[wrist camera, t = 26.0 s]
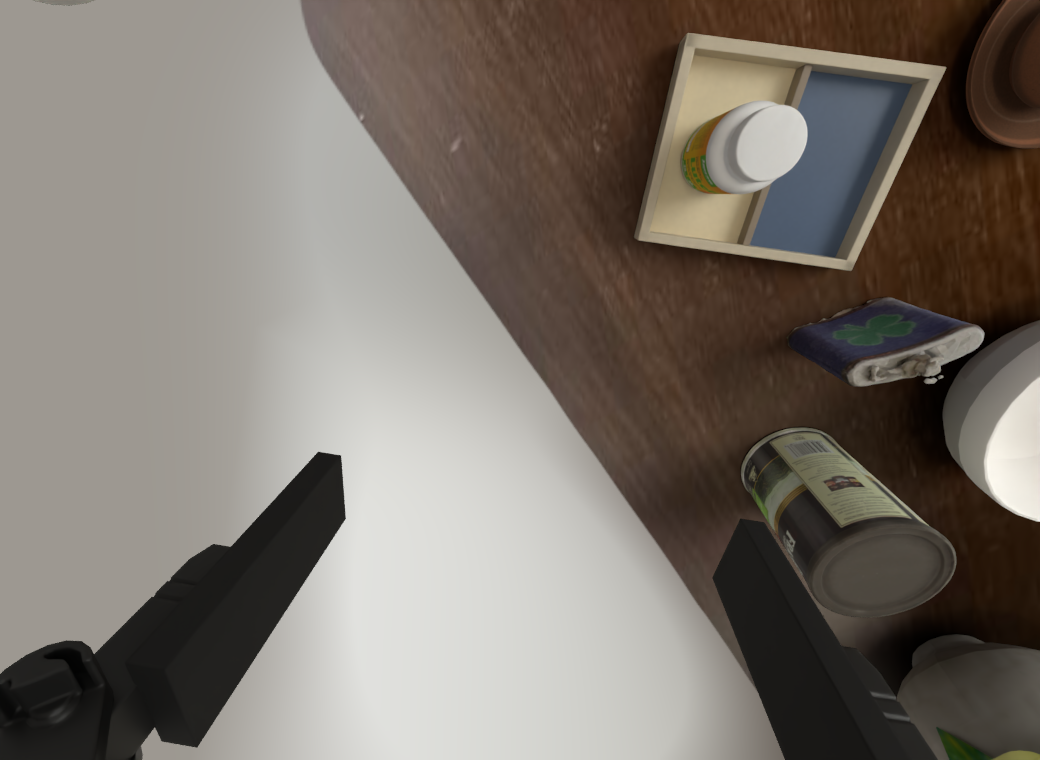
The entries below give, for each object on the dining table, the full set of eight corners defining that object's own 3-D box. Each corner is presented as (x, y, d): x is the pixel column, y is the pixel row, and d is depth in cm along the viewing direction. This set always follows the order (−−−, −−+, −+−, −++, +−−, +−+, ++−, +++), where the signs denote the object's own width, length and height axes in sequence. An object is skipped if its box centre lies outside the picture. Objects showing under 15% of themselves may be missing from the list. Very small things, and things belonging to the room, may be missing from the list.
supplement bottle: (665, 165, 33) (703, 155, 25) (716, 101, 31) (778, 65, 23) (712, 208, 34) (765, 213, 26) (764, 148, 32) (842, 132, 24)
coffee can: (767, 516, 48) (843, 634, 35) (722, 458, 45) (787, 563, 32) (858, 474, 45) (978, 588, 32) (816, 408, 42) (929, 504, 29)
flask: (893, 291, 36) (1014, 328, 27) (896, 320, 38) (1013, 366, 28) (783, 330, 39) (858, 377, 29) (788, 356, 40) (863, 411, 30)
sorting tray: (633, 237, 36) (637, 240, 35) (679, 42, 30) (687, 32, 29) (836, 267, 36) (851, 271, 34) (922, 74, 30) (947, 66, 28)
